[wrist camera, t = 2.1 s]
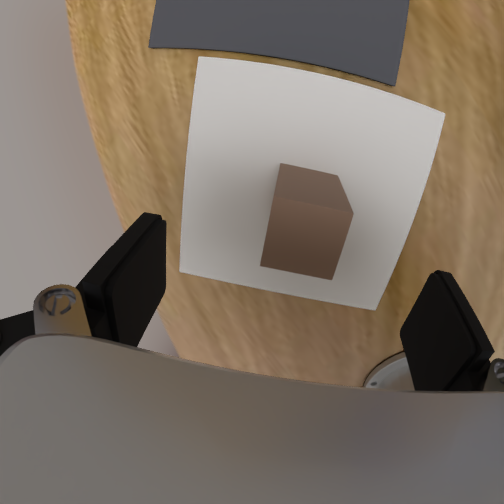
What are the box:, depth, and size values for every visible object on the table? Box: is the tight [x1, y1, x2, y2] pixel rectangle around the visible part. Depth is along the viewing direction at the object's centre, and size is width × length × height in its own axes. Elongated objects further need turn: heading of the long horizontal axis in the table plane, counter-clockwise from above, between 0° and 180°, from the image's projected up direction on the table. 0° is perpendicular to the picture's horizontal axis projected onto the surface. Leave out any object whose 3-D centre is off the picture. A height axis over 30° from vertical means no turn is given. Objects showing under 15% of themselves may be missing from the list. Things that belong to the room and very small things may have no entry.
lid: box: [179, 57, 445, 310], centre depth 17 cm, size 15×15×7 cm
